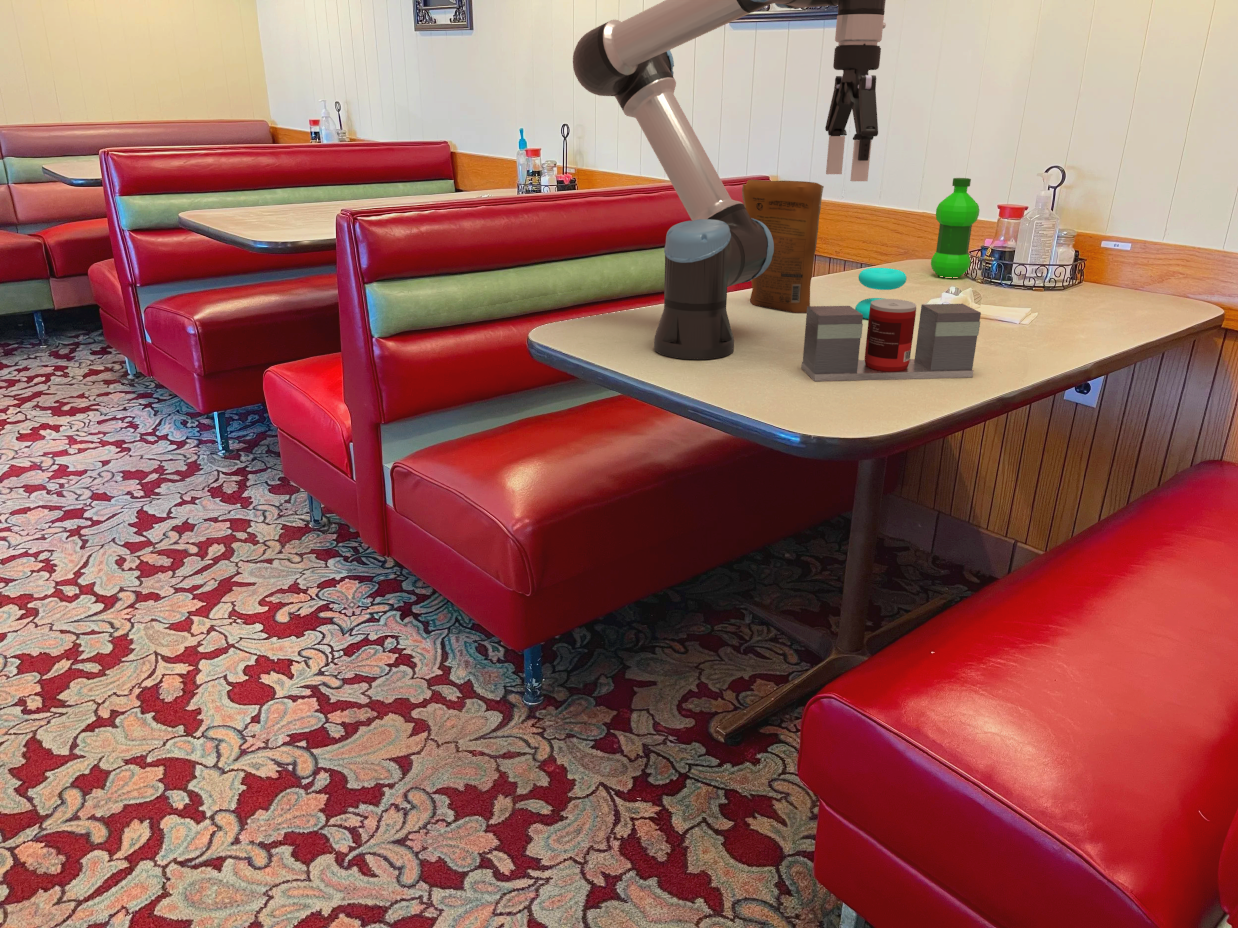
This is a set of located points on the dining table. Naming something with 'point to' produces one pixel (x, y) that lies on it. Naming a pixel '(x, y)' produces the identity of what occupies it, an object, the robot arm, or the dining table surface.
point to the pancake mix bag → (785, 240)
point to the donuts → (878, 284)
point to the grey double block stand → (938, 355)
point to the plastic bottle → (955, 231)
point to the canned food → (890, 334)
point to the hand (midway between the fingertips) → (845, 177)
